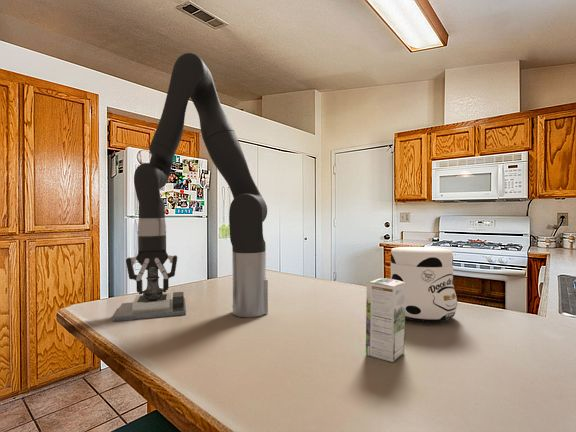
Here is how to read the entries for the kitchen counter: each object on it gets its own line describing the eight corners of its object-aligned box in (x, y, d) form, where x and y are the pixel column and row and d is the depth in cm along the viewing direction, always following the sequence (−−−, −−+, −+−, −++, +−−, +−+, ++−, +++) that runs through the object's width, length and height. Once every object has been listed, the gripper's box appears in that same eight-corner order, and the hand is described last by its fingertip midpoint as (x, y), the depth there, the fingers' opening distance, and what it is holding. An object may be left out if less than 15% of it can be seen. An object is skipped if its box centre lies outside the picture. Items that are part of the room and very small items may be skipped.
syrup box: (377, 346, 71) (377, 277, 71) (405, 353, 67) (405, 280, 67) (365, 355, 66) (365, 281, 66) (394, 363, 62) (394, 285, 62)
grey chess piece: (156, 306, 94) (155, 263, 94) (137, 305, 95) (137, 263, 95) (168, 301, 100) (167, 260, 100) (150, 300, 101) (149, 260, 101)
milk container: (462, 330, 80) (462, 254, 80) (385, 323, 85) (385, 252, 85) (452, 310, 96) (452, 247, 96) (388, 305, 102) (388, 245, 102)
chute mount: (185, 302, 107) (185, 288, 107) (185, 314, 93) (185, 299, 93) (122, 307, 101) (122, 293, 101) (113, 321, 88) (113, 305, 88)
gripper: (178, 232, 103) (179, 288, 103) (126, 234, 98) (127, 291, 99) (178, 234, 96) (179, 293, 96) (122, 235, 91) (123, 297, 91)
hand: (152, 292), depth 97 cm, fingers closed on grey chess piece, 5 cm apart
